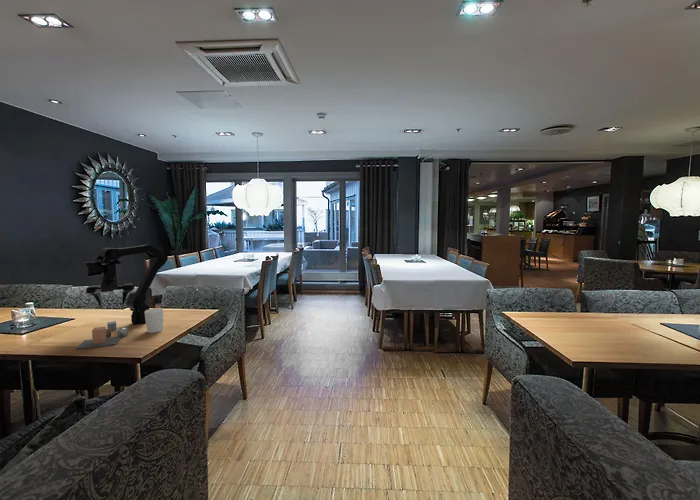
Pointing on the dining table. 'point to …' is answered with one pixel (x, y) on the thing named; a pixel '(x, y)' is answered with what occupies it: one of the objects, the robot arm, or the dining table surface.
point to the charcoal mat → (108, 342)
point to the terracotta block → (99, 335)
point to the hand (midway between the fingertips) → (112, 305)
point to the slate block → (111, 325)
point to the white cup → (154, 320)
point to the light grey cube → (122, 331)
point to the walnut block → (108, 333)
